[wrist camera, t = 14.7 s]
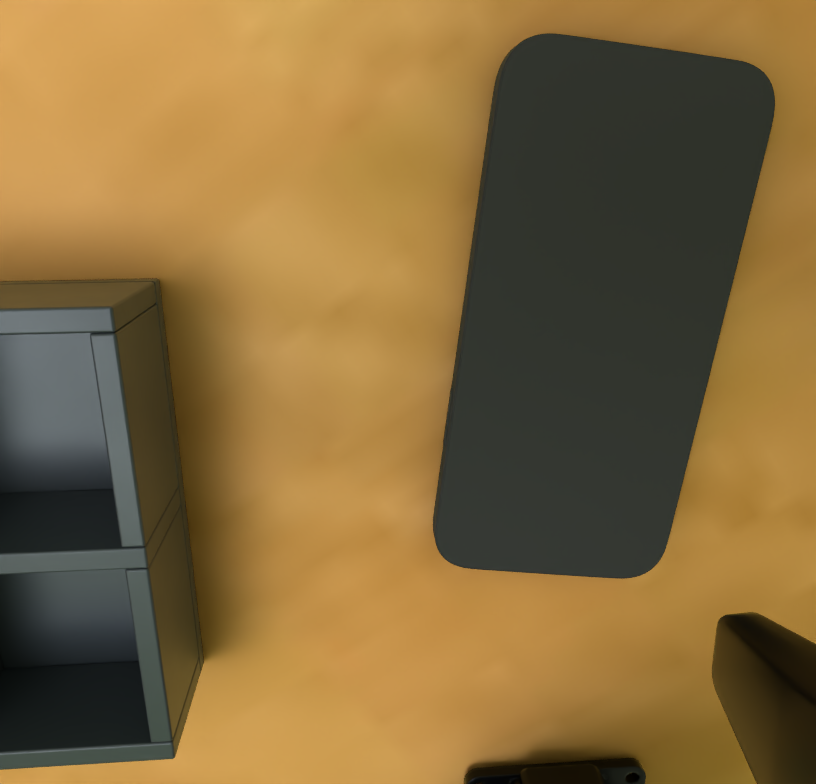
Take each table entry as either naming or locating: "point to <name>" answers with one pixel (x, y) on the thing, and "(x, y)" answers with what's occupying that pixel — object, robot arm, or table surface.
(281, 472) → the table surface
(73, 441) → the grid
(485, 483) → the phone
